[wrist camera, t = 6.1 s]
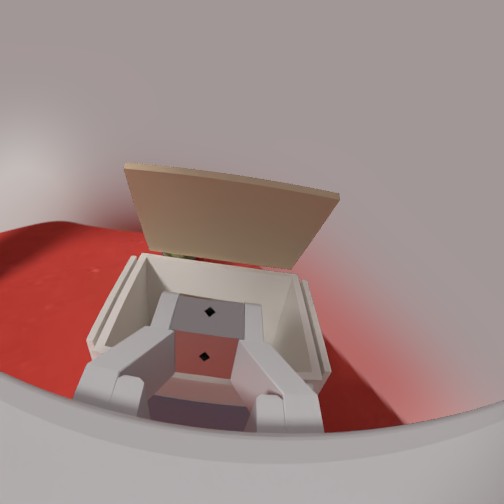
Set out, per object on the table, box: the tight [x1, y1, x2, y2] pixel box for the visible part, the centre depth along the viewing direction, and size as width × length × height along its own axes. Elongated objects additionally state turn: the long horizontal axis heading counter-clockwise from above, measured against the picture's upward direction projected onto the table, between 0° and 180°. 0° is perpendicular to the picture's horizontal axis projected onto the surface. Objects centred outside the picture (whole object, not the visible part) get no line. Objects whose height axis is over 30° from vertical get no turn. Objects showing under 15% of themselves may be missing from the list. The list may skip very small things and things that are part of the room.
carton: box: [86, 253, 332, 432], centre depth 21 cm, size 13×11×13 cm
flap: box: [124, 163, 340, 270], centre depth 18 cm, size 11×10×1 cm
